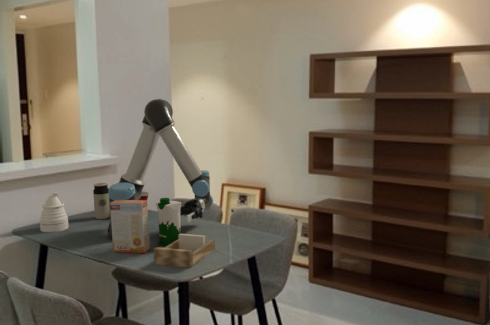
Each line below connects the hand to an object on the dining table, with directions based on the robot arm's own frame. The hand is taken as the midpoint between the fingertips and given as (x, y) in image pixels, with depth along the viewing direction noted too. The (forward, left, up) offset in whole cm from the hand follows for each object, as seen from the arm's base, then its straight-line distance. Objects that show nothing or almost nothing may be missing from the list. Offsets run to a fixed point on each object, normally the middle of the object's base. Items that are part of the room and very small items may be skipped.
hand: (173, 218), depth 211 cm
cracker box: (-12, -14, -11) cm, 22 cm away
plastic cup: (-43, +43, -11) cm, 62 cm away
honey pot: (-69, +7, -11) cm, 70 cm away
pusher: (+13, -9, -11) cm, 19 cm away
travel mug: (-59, +32, -11) cm, 68 cm away
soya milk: (-1, -1, -11) cm, 11 cm away
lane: (+13, -14, -11) cm, 22 cm away
